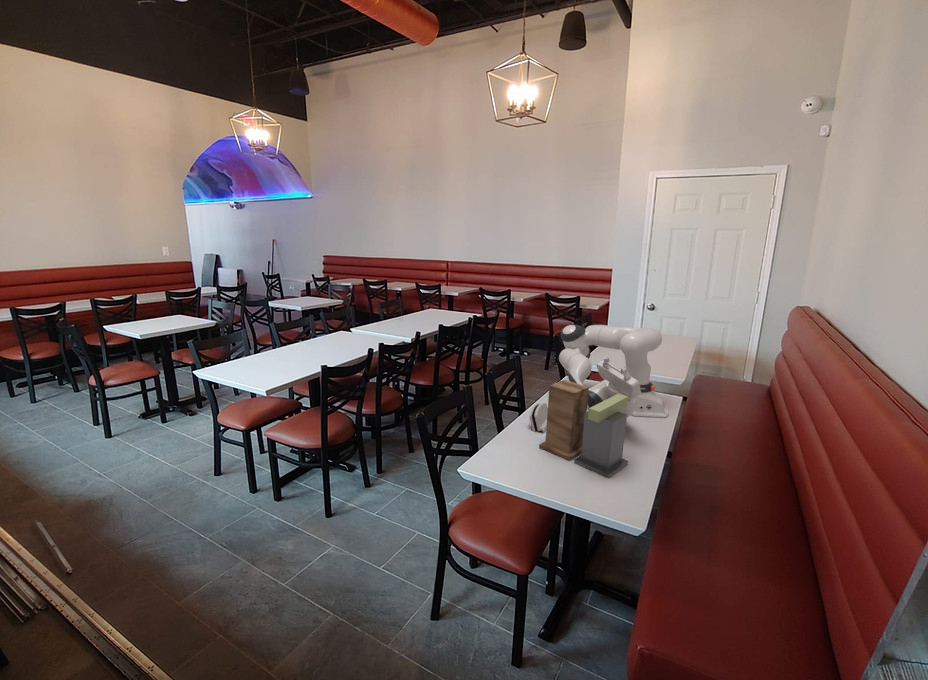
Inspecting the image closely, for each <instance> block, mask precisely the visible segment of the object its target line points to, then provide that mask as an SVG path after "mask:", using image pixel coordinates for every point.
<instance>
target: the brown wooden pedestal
mask: <svg viewBox="0 0 928 680" xmlns="http://www.w3.org/2000/svg"><path fill="white" fill-rule="evenodd" d="M589 388H590V386H587V385H584V384H583V385H580V384H577V383H573V382H570V381H569V380H565V379H562V380H560V381H558V382H555V383H552V384H550V385H549V386H548V400H547V401H548V402H547V407H548V413H547V428H546V432H545V441H543V442H541V443H539V444H538V448H539V449H541V450H543V451H546V452H548V453H550V454H552V455H554V456H557V457H558V458H561V459H563V460H565V461H568V462H571V461H572V460H575V459H576V458H578V457H579V456H581V453H582V441H583V430H584V419H585V413H586V412H588V409H587V402H588V391H589Z"/></svg>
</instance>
